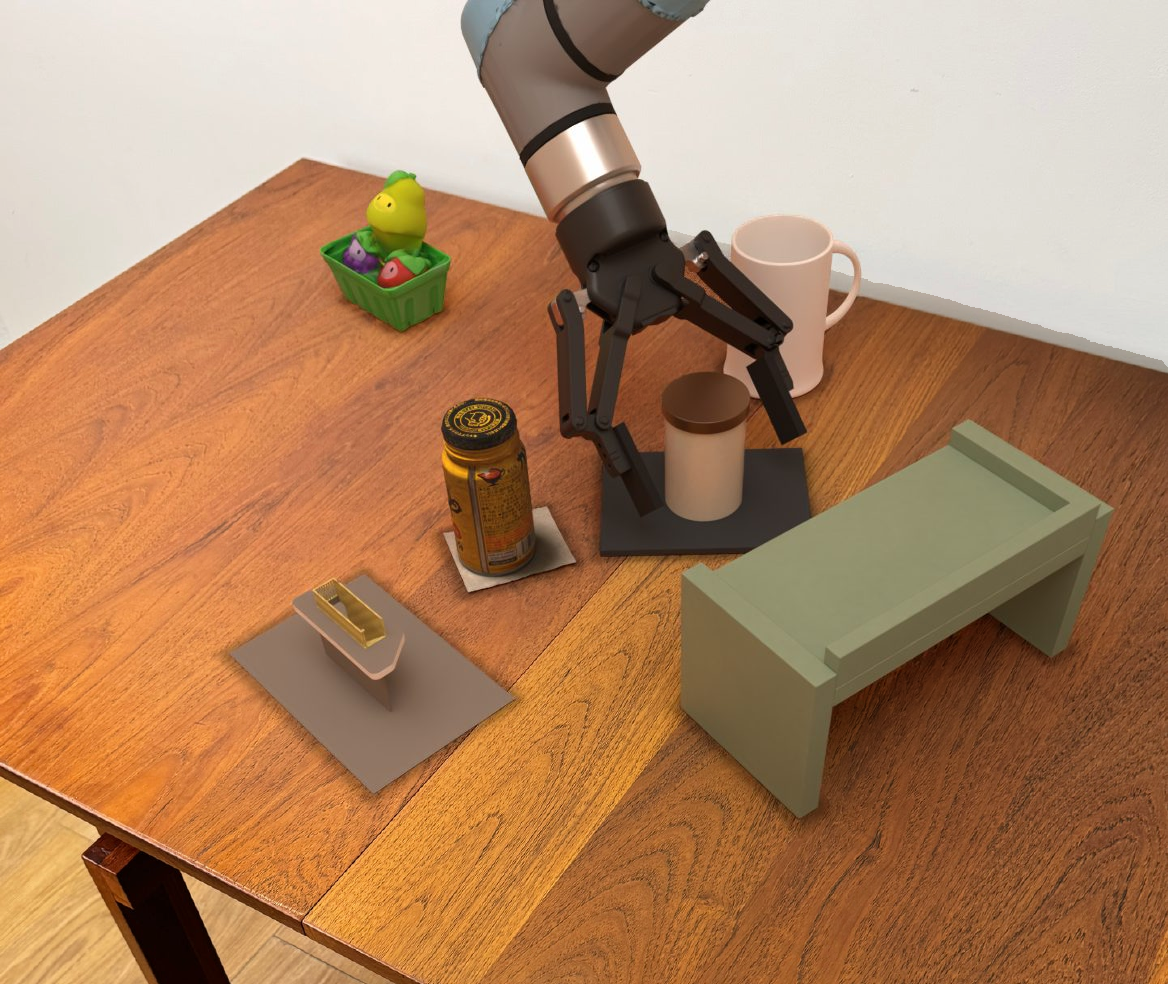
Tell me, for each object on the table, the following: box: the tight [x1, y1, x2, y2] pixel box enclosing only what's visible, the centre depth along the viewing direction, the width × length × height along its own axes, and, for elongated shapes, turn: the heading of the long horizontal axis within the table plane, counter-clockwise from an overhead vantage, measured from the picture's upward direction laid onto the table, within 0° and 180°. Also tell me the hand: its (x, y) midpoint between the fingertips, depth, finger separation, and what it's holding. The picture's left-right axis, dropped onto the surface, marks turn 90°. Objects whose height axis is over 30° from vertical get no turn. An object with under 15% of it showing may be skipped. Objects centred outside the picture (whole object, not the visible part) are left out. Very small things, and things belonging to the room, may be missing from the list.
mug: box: [723, 213, 862, 400], centre depth 104 cm, size 12×8×12 cm
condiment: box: [440, 397, 577, 593], centre depth 91 cm, size 7×8×12 cm
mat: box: [599, 447, 812, 557], centre depth 98 cm, size 16×12×1 cm
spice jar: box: [660, 371, 751, 521], centre depth 94 cm, size 6×6×9 cm
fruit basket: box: [318, 169, 452, 333], centre depth 115 cm, size 11×9×11 cm
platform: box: [228, 573, 516, 795], centre depth 86 cm, size 12×18×7 cm, turn 42°
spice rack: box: [679, 418, 1115, 820], centre depth 80 cm, size 24×12×13 cm, turn 125°
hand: (725, 475), depth 93 cm, fingers open, 13 cm apart
